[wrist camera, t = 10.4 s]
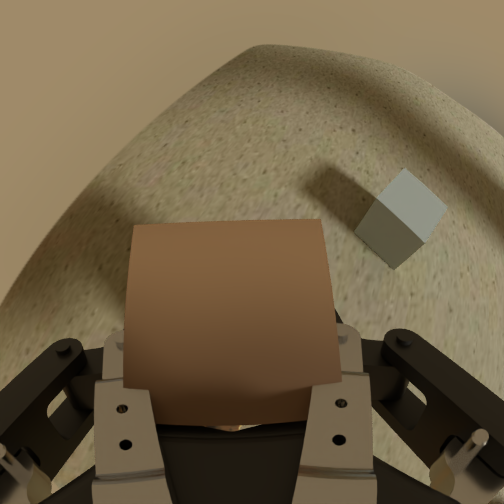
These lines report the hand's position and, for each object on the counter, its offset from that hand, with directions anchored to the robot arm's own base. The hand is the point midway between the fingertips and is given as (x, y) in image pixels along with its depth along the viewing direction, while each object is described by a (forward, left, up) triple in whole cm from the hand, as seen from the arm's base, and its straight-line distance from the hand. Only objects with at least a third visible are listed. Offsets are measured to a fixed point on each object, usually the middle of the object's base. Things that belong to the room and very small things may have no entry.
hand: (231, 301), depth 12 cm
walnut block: (+1, +2, -4) cm, 5 cm away
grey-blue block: (-14, -2, -8) cm, 17 cm away
